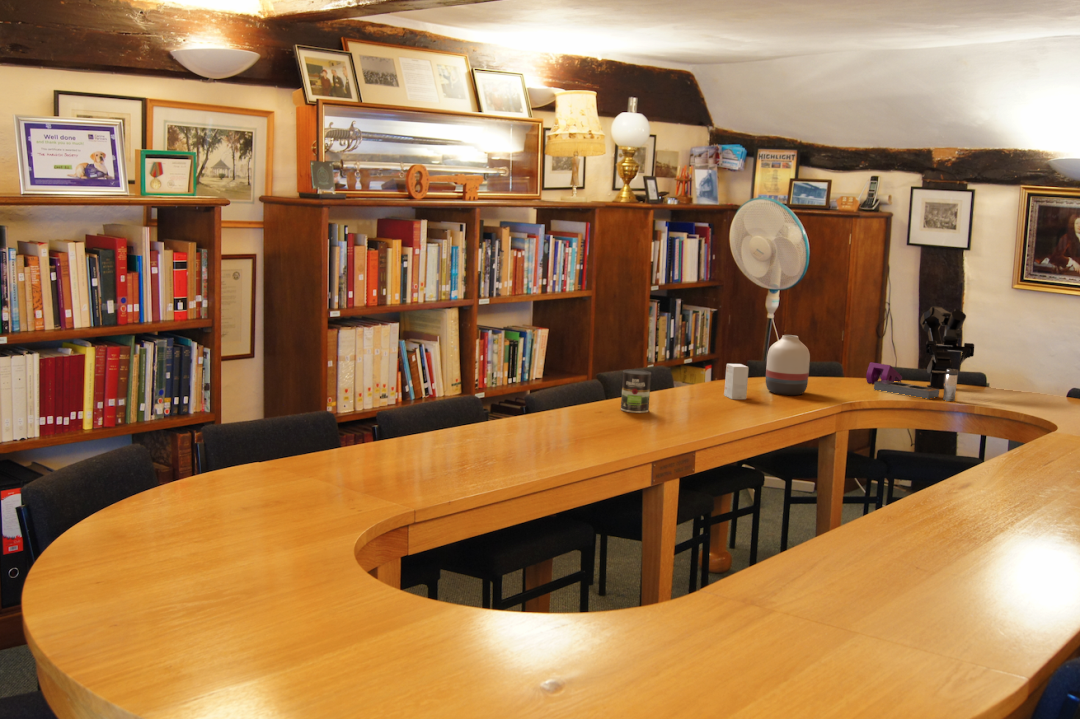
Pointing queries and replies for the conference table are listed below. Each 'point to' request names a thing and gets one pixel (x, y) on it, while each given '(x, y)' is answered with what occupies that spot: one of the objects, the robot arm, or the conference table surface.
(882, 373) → the mounting bracket
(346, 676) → the conference table surface
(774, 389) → the vase
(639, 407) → the coffee can
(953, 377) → the steel pin
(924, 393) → the rack rail
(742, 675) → the conference table surface
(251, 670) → the conference table surface
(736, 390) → the small box
